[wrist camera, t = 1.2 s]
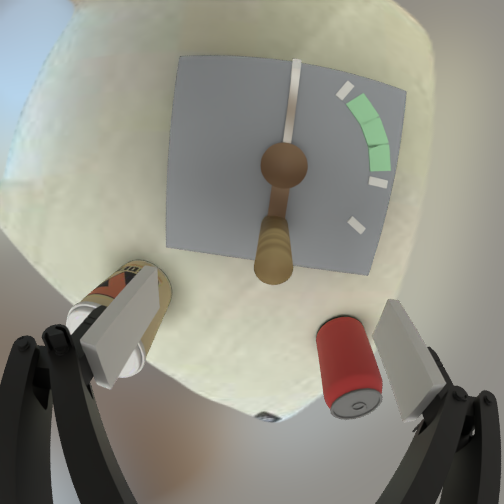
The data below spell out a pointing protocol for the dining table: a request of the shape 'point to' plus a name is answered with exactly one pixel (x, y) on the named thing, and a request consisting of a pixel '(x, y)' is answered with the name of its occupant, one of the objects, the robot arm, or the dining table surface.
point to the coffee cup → (108, 293)
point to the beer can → (348, 369)
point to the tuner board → (272, 132)
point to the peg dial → (280, 198)
